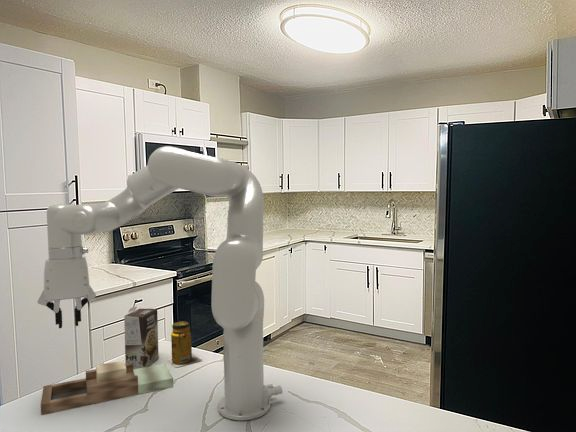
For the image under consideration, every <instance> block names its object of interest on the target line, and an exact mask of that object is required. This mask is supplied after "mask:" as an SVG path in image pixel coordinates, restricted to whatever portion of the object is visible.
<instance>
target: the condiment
mask: <svg viewBox="0 0 576 432" xmlns="http://www.w3.org/2000/svg"><path fill="white" fill-rule="evenodd" d="M171 328H172V332H171V334H170V336H171V338H170V339H171V342H170V343H171V359H167V362H169V363H170V364H171V365H173V366H174V367H176V368H180V367H185V366H187V365H191V364H194V363H198V362H200V361H202V359H201V358H199V357H198V356H196V355H195V354H194V353H193V349H192V346H193V345H192V343H193V342H192V332H191V325H190V322H188V321H185V320H184V321H177V322H174V323H172V325H171Z"/></svg>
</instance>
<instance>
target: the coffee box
mask: <svg viewBox="0 0 576 432" xmlns="http://www.w3.org/2000/svg"><path fill="white" fill-rule="evenodd" d="M123 318H124V321H123V323H124V359H125V360H124V363H125V364H127V363H133V369H139V368H144V367H149V366H152V364H153V363H155V362H156V361H158V360H159V359H160V357H159V353H160V352H159V323H158V308H138V309H136V310H134V311H132V312H130V313H128V314H126V315H124V317H123Z"/></svg>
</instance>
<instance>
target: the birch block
mask: <svg viewBox="0 0 576 432" xmlns="http://www.w3.org/2000/svg"><path fill="white" fill-rule="evenodd" d="M95 369H96V379H97V383H100V382H105V381H110V380H115V379H120V378H126V377H127V374H126V366H125V360H118V361H113V362H107V363H102V364H97V365H95Z"/></svg>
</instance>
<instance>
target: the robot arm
mask: <svg viewBox="0 0 576 432" xmlns="http://www.w3.org/2000/svg"><path fill="white" fill-rule="evenodd" d="M178 189H180V190H185V191H189V192H193V193H197V194H201V195H204V196H209V197H215V198H217V197H226V198H227V199H228V209H227V216H226V217H227V223H226V225H227V227H226V229H227V230H226V238H225V240H223V241H222V242H221V243H220V244H219V245H218V246H217V248H216V251H215V252H214V255H213V259H212V260H213V261H212V271H211V272H212V273H211V274H212V278H211V313H212V316H213V319H214V320H215V322H216V323H217V324H218V325H219V326H220V327H221V328H222V329H223V335H222V337H223V341H222V342H223V384H224V385H223V386H224V396H223V397H222V398H221V399H220V400H219V402H218V403H217V404H218V405H217V409H218V412H219V414H220V415H221V416H222V417H224V418H226V419H229V420H233V421H251V420H255V419H257V418H260V417H262V416H264V415H265V414H267V413H268V412H269V410H270V408H271V400H270V399H271V398H272V396H277V395H282V394H283V387H282V385H278V386H274V385H273V383H270V384H267V385H264V383H265V381H264V315H265V313H264V312H265V296H264V292H263V291H264V290H263V289H262V287H261V285H260V284H259V283H258V282H257V280H256V275H257V269H258V268H259V267H260V266H261V264H262V261H263V257H264V192H263V188H262V186H261V183H260V182H259V180H258V178H257V177H256V175H255V174H254V173H253V172H252V171H251V170H249V169H248V168H246V167H245V166H243V165H242V164H239V163H237V162H236V161H232V160H228V159H224V158H220V157H216V156H211V155H206V154H201V153H198V152H193V151H189V150H186V149H183V148H180V147H176V146H171V145H164V146H160V147H158V148H156V149H155V150H154V151H153V152H152V153H151V154H150V155H149V158H148V161H147V165H146V166H143V167H142V168H140V169H138V170H137V171H135V172H134V173H132V174H130V175H129V176H128V177H127V179H126V188H124V190H122V191H121V192H120V193H118V194H117V195H115V196H114V197H111V198H110V199H108V200H106V201H105V202H92V203H80V204H67V203H66V204H65V203H64V204H51V205H49V206H48V207H47V209H46V224H47V225H46V227H47V250H48V251H47V252H48V254H47V255H48V259H45V261H44V269H43V270H44V271H43V290H42V292H41V294H40V296H39V297H38V299H37V305H40V306H41V305H42V306H45V307H47V308H48V309H50V310H52V312H53V313H54V317H55V318H54V319H55V325H58V329H62V328H63V309H62V310H61V307H60V306H61V305H60V304H61V303H60V302H61V301H63V300H72V299H74V300H75V308H74V326H75V327H79V322H82V309H83V308H84V306H86V304H88V302H89V301H92V300H93V299H95V298H96V297H97V294H96V292H95V291H94V289H93V288H92V286H91V285H90V277H89V268H88V262H87V259H86V257H85V256H83V255H84V254H89V247H84V246H83V241H82V240H83V237H82V236H83V235H84V236H89V235H93V234H100V233H105V232H111V231H114V230H116V229H118V228H120V227H121V226H123V225H124V224H126V223H128V222H130V221H132V220H133V219H135V218H137V217H138V216H140V214H142V213H144V211H146V210H147V209H148V207H150V206H151V205H153V204H155V203H156V202H158V201H159V200H161V199H163V198H165V197H166V196H169V195H170V194H172V193H173V192H175V191H177V190H178ZM53 301H54V302H53Z"/></svg>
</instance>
